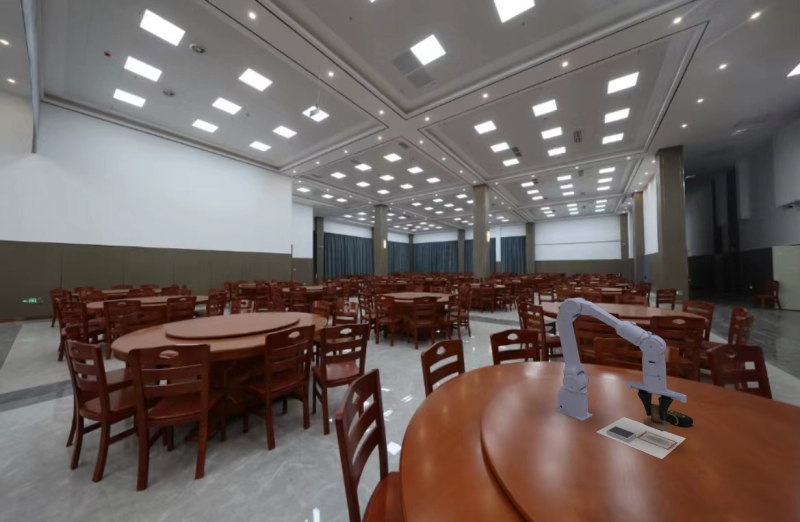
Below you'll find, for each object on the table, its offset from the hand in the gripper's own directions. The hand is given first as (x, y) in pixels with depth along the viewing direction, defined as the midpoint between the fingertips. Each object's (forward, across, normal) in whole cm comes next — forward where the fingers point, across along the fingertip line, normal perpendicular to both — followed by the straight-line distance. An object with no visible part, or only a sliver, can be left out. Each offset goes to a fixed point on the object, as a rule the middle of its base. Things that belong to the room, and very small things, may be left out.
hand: (656, 417), depth 93 cm
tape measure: (+8, +1, -22) cm, 23 cm away
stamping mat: (+7, +4, +1) cm, 8 cm away
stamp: (+3, 0, 0) cm, 3 cm away
